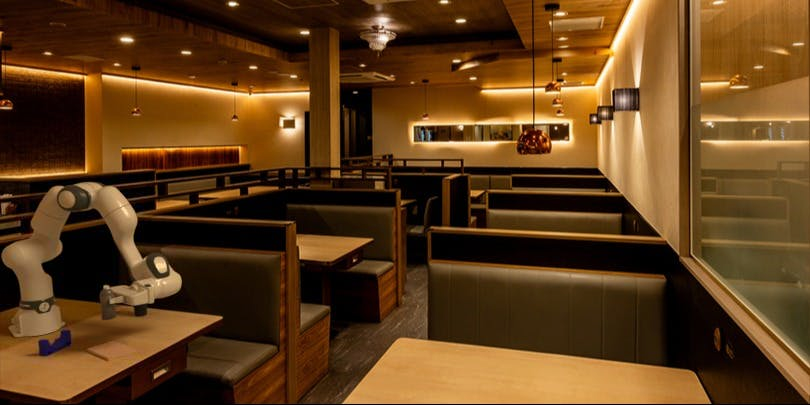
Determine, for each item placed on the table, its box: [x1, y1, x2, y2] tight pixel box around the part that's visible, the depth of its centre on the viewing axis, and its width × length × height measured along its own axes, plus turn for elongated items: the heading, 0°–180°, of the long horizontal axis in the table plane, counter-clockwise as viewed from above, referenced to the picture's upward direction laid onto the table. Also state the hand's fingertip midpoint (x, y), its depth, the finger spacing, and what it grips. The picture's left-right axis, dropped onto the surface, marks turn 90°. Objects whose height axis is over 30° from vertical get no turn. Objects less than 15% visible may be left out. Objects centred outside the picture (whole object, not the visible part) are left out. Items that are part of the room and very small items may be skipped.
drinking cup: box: [132, 303, 148, 317], centre depth 252 cm, size 8×8×20 cm
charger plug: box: [99, 284, 117, 321], centre depth 207 cm, size 5×5×12 cm
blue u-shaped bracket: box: [37, 329, 72, 357], centre depth 212 cm, size 12×4×6 cm, turn 170°
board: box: [86, 340, 137, 362], centre depth 209 cm, size 16×10×1 cm, turn 54°
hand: (104, 300), depth 206 cm, fingers closed on charger plug, 5 cm apart
